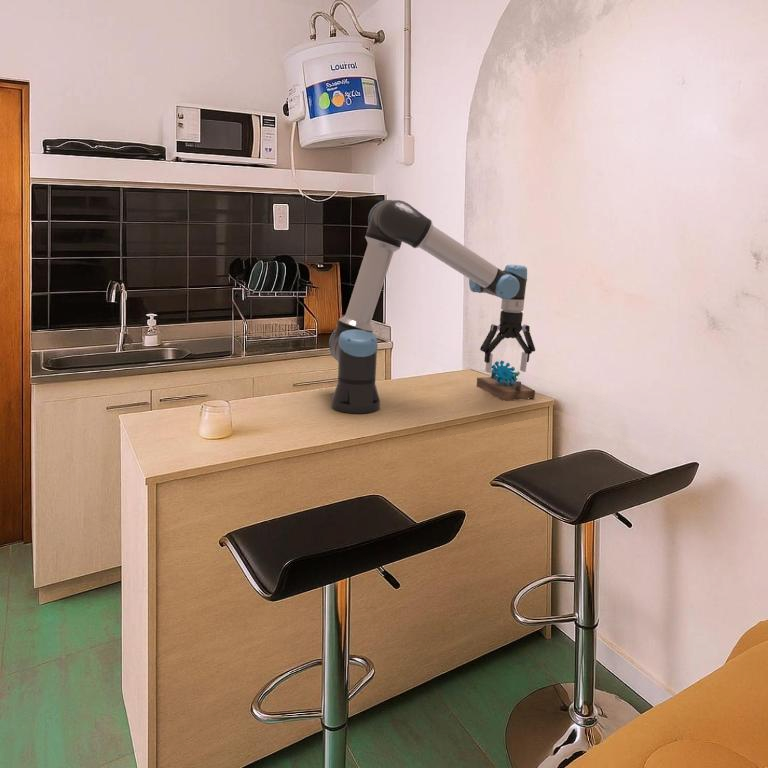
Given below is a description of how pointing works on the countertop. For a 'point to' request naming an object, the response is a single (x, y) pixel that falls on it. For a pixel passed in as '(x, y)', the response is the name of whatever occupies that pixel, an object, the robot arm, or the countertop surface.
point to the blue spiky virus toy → (504, 373)
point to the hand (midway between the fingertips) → (505, 371)
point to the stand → (505, 388)
